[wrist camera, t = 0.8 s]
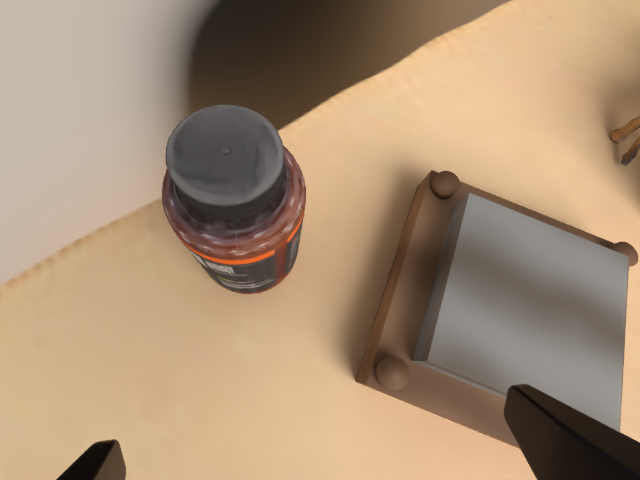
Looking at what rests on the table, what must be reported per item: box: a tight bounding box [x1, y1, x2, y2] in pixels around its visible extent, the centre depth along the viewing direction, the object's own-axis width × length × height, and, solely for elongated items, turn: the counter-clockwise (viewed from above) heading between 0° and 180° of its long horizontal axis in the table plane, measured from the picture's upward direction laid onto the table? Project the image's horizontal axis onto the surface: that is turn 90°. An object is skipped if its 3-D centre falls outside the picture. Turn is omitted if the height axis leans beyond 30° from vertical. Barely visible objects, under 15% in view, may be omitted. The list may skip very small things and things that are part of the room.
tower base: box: [356, 170, 638, 448], centre depth 21 cm, size 14×14×4 cm
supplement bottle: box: [162, 105, 306, 294], centre depth 17 cm, size 6×6×11 cm
